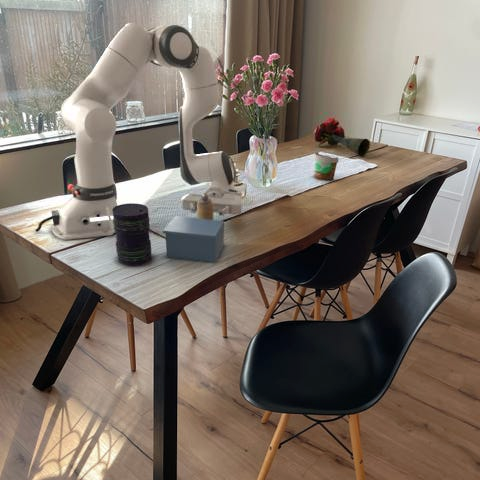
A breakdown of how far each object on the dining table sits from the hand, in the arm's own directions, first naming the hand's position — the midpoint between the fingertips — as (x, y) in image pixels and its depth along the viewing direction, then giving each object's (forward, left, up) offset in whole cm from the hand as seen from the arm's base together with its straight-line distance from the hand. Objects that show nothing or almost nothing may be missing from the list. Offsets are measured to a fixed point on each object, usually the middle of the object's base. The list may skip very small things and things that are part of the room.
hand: (206, 212), depth 155 cm
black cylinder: (-28, -8, -7) cm, 30 cm away
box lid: (-10, -11, 0) cm, 15 cm away
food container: (+74, +34, -7) cm, 82 cm away
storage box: (-10, -11, -7) cm, 16 cm away
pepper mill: (-2, -2, -7) cm, 8 cm away
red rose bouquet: (+119, +73, -7) cm, 140 cm away
